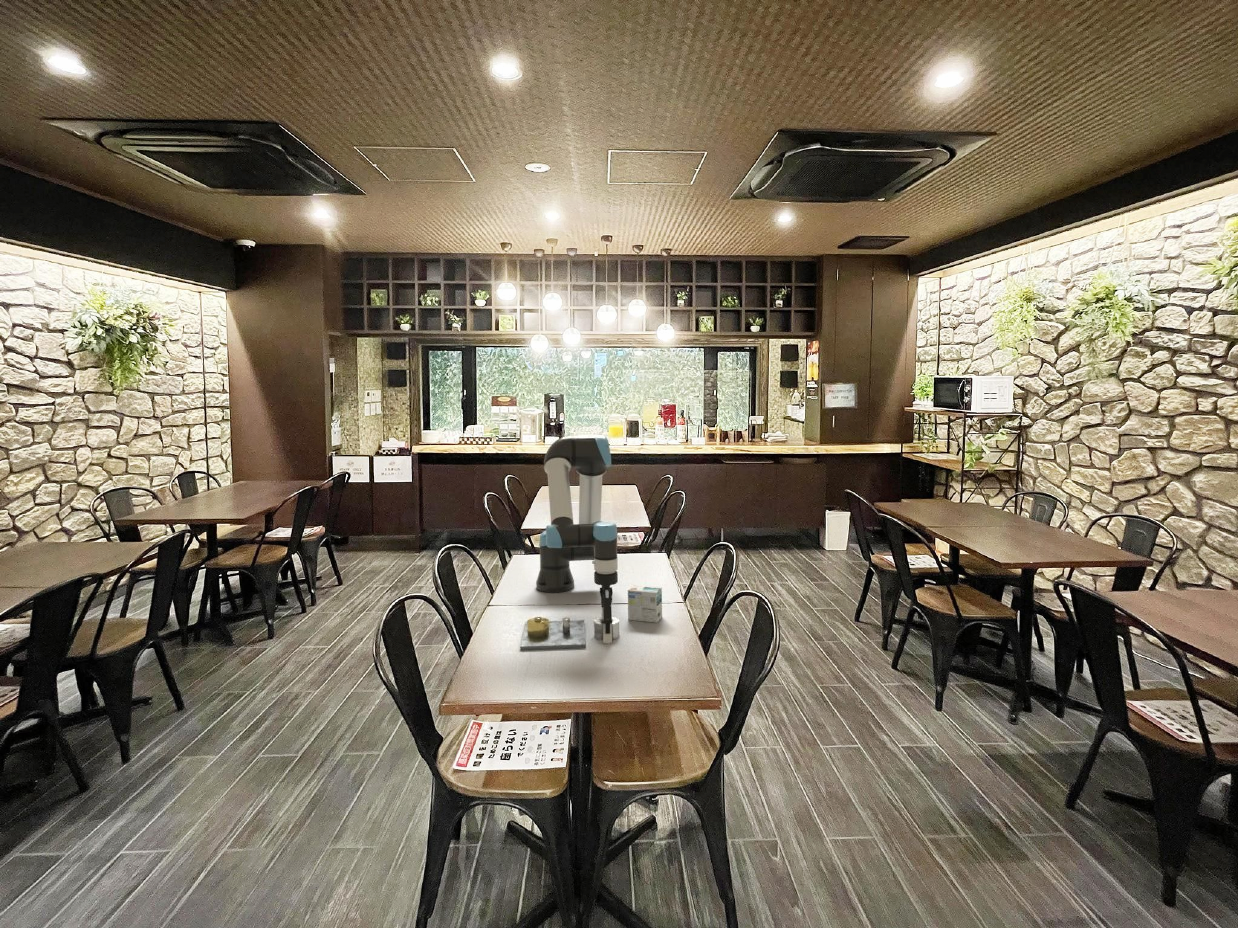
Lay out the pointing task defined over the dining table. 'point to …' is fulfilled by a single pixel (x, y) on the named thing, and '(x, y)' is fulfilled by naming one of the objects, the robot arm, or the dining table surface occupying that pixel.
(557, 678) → the dining table surface
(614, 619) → the planet gear
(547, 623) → the carrier
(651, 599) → the light bulb box
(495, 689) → the dining table surface
